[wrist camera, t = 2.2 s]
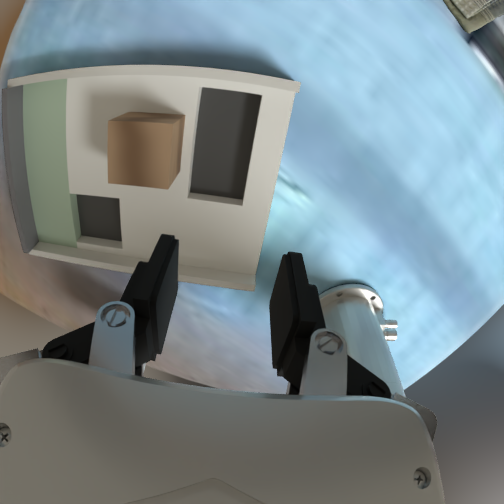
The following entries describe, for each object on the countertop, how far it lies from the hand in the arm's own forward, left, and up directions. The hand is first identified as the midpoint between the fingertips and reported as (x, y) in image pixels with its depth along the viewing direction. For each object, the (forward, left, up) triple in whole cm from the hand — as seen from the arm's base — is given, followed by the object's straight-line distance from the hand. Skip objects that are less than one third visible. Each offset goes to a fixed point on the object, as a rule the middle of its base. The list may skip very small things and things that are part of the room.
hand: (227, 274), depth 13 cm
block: (+9, 0, -19) cm, 21 cm away
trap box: (+12, +4, -21) cm, 25 cm away
